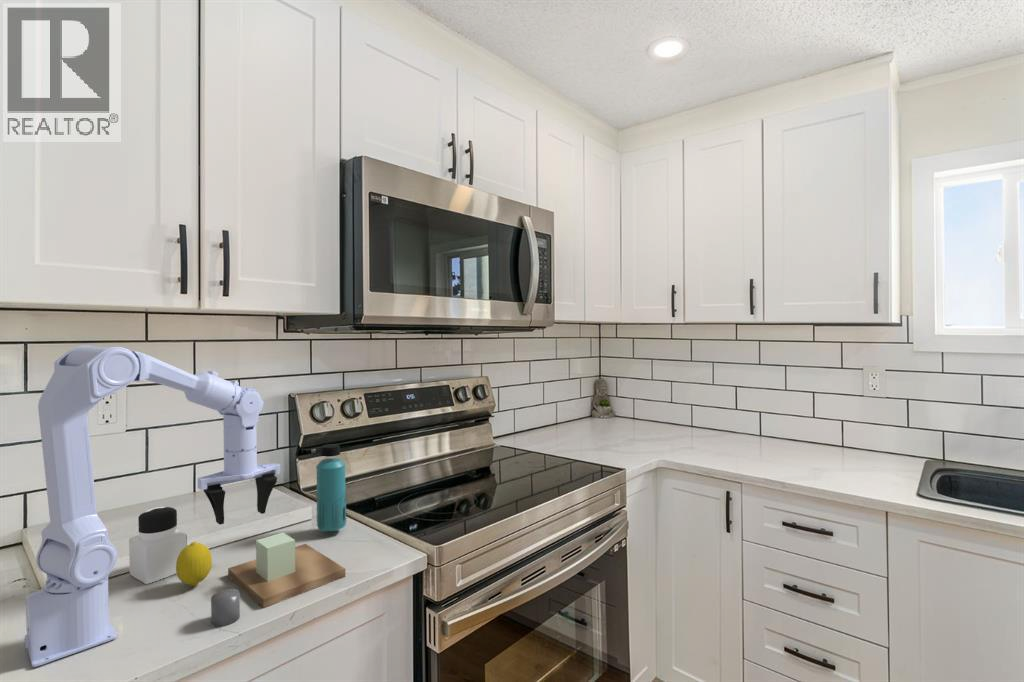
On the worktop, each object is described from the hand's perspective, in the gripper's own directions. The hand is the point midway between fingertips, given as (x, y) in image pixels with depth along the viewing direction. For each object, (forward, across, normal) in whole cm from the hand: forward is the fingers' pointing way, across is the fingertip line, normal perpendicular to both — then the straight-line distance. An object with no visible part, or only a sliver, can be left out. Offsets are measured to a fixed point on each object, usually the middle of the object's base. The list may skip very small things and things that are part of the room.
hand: (241, 517), depth 103 cm
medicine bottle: (+10, -12, +8) cm, 17 cm away
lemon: (+10, -9, -2) cm, 13 cm away
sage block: (+8, +2, -11) cm, 14 cm away
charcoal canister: (+10, -9, -18) cm, 22 cm away
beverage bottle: (+10, +20, +2) cm, 22 cm away
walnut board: (+9, +4, -11) cm, 15 cm away
